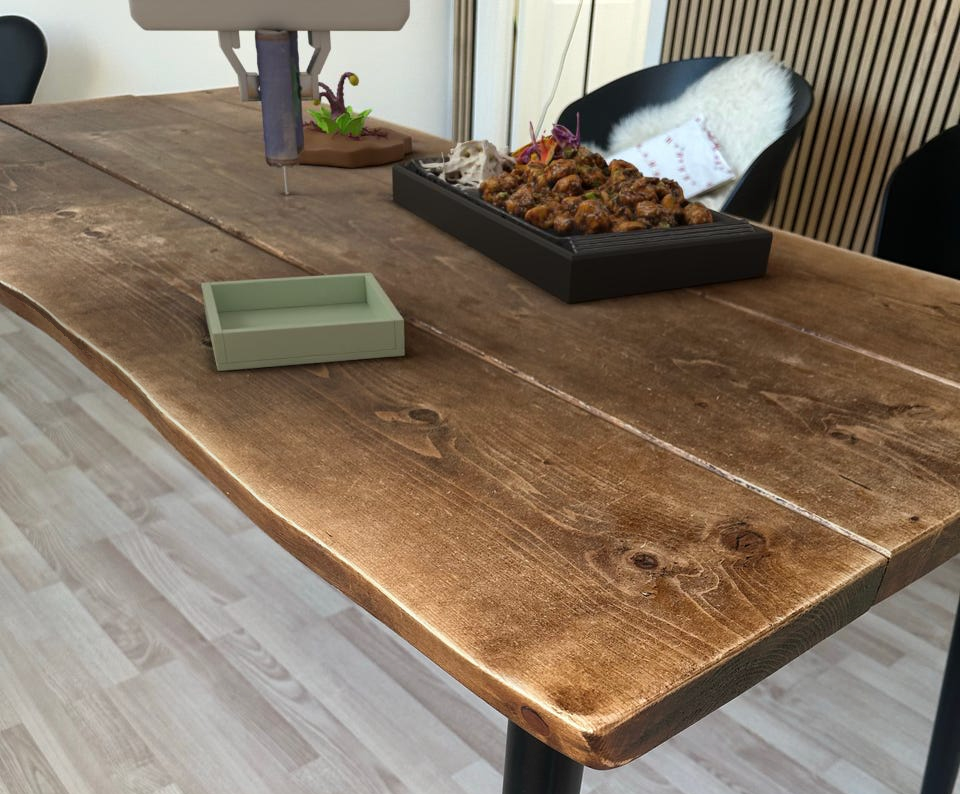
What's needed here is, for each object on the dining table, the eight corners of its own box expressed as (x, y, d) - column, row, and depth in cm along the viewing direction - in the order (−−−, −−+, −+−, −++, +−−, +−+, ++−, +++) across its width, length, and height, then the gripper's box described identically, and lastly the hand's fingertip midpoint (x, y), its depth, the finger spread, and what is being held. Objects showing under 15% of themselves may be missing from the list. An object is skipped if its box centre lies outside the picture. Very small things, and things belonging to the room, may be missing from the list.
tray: (217, 371, 78) (212, 333, 76) (206, 317, 89) (201, 282, 87) (404, 355, 82) (404, 319, 80) (372, 305, 92) (371, 272, 91)
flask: (298, 169, 74) (284, 2, 67) (259, 168, 74) (242, 1, 67) (307, 146, 81) (296, -6, 75) (272, 146, 81) (258, -7, 75)
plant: (364, 173, 139) (360, 84, 133) (253, 158, 146) (244, 73, 139) (429, 150, 154) (428, 69, 147) (325, 137, 160) (320, 59, 154)
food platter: (393, 201, 126) (390, 112, 120) (555, 187, 135) (560, 104, 129) (568, 303, 94) (577, 189, 88) (765, 275, 103) (786, 170, 97)
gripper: (100, -138, 61) (140, 109, 69) (413, -124, 66) (416, 104, 74) (101, -134, 66) (139, 96, 74) (393, -122, 71) (398, 92, 79)
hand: (280, 100), depth 74 cm, fingers closed on flask, 3 cm apart
